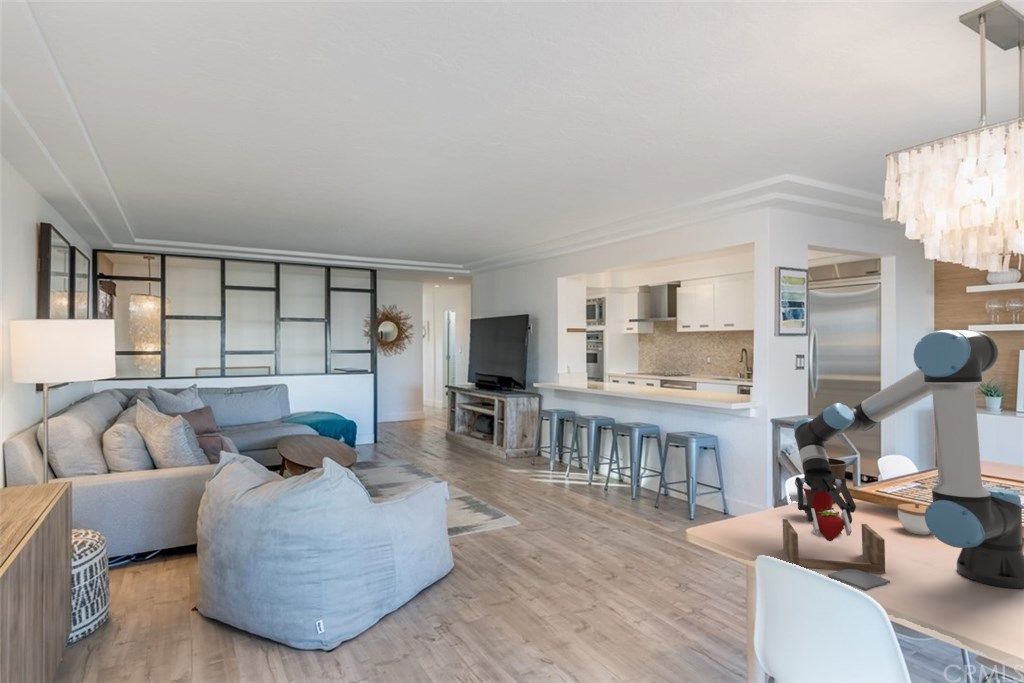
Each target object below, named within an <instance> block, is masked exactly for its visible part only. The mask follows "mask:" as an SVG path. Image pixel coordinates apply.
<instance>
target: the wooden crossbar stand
mask: <svg viewBox="0 0 1024 683" xmlns="http://www.w3.org/2000/svg"><path fill="white" fill-rule="evenodd" d="M798 535H799V534H798V533H797V531H796V530H795V529H794V527H793V526H792V524H791V523H790V521H789V520H788V519H785V518H784V519H782V542H783V544H782V546H783V547H782V549H783V551H784V553H785V554H786V557H787V558H788V559H789V561H790V562H791V564H792V563H794V564H796V565H799V566H802V567H801V568H809V569H821V570H823V569H824V570H834V571H836V570H837V571H841V570H844V569H848V568H850V569H859V570H861V571H864V572H867V573H872V574H873V573H874V574H875V573H876V574H877V573H878V574H886V545H885V538H884V537H882V536H881V535H880V534H879V533H877V532H876V531H875V530H874V529H872V528H871V526H869V525H868V524H866V523H861V547H862V548H861V552H862V553H861V554H862V556H863V557H864V558H865V559H866V560H867V562H860V561H857V562H856V561H843V560H831V559H817V558H816V559H815V558H806V557H799V536H798Z"/></svg>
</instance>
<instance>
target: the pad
mask: <svg viewBox="0 0 1024 683" xmlns="http://www.w3.org/2000/svg"><path fill="white" fill-rule="evenodd" d="M827 577H829V578H831V579H833V580H837V581H840V582H841V583H842V582H843V583H844V584H847V585H850V586H852V587H855V588H858V589H861V590H863V591H869V590H872V589H875V588H878V587H881V586H884V585H888V584H891V580H890V579H887V578H885V577H881V576H878V575H875V574H873V573H871V572H864V571H861V570H859V569H850V568H848V569H844V570H837V571H835V572H831V573H828V574H827Z"/></svg>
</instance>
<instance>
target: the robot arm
mask: <svg viewBox="0 0 1024 683" xmlns="http://www.w3.org/2000/svg"><path fill="white" fill-rule="evenodd" d="M998 357H999V347H998V346H997V343H996V342H995V341H994V339H992V337H990V336H989V335H988V334H986V333H984V332H982V331H978V330H972V329H968V330H964V329H963V330H962V329H961V330H959V329H943V330H936V331H932V332H929V333H928V334H926V335H924V336H923V337H921V339H919V341H918V342H917V343H916V345H915V347H914V350H913V362H914V364H915V366H916V367H917V369H916V370H915V371H912V372H911V373H909V374H907V375H906V376H904V377H902V378H901V379H899V380H897V381H896V382H894V383H892V384H890V385H889V386H887V387H885V388H883V389H882V390H880V391H878V392H875V394H873V395H871V396H870V397H868V398H866V399H864V400H863V401H861V402H859V403H858V404H856V405H854V406H852V407H849V406H847V405H845V404H842V403H841V402H835V403H833V404H832V405H829V406H827V407H826V408H825V409H824V410H823V411H822V412H820V413H819V414H818V415H817V416H815V417H814V418H810V417H808V418H807V417H806V418H802V419H799V420H797V421H796V422H795V423H794V426H793V432H794V435H793V436H794V438H795V442H796V445H797V448H798V454H799V457H800V462H801V467H802V471H803V472H802V473H803V475H804V477H802V478H800V477H799V476H796V477H795V479H794V485H795V487H796V490H797V491H796V492H797V496H796V497H797V509H798V511H804V513H805V514H806V518H807V519H806V520H807V521H808V522H811V524H812V528H813V533H814V534H815V535H818V533H819V527H818V523H817V518H816V514H815V510H814V508H811V505H812V501H813V497H814V494H815V491H816V492H820V491H822V492H827V493H828V494H829V495H830V496H831V497H832V498H833V500H834V501H835V502H836V503H835V504H836V505H837V506H838V508H839V509H840V510H841V514H840V516H841V517H842V519H843V521H844V531H845V534H846V536H847V537H849V536H851V534H852V531H853V530H852V527H851V524H852V523H853V518H852V517H853V516H852V514H851V513H853V514H854V513H855V511H856V509H857V505H856V503H855V501H854V499H853V497H852V494H851V492H850V491H849V488H848V486H847V479H845V477H844V478H843V479H841V480H839V479H835V477H834V476H833V475H832V471H831V468H830V464H829V461H828V458H829V457H828V454H827V451H826V447H825V443H826V442H828V441H830V440H832V439H833V438H834V437H835V436H837V435H839V434H844V433H853V432H854V433H855V432H866V431H869V430H872V429H874V428H876V427H877V426H878V424H879V422H882V421H883V420H886V419H888V418H889V417H891V416H894V415H895V414H897V413H898V412H901V411H902V410H904V409H906V408H908V407H910V406H912V405H914V404H915V403H917V402H919V401H921V400H924V399H925V398H927V397H929V396H931V395H932V403H933V405H932V406H933V418H934V421H933V422H934V433H935V434H934V435H935V447H936V461H937V463H936V464H937V474H938V475H937V476H938V482H937V484H935V485H934V486H933V487H931V493H932V495H931V496H932V502H931V503H930V504H929V505H927V506H928V507H927V508H926V511H925V522H926V525H927V527H928V529H929V530H930V534H932V535H933V536H934V537H935V538H936V539H938V541H940V542H942V543H943V544H945V545H946V546H949V547H952V548H953V547H954V548H958V549H961V550H960V552H959V555H958V557H957V560H956V571H957V573H959V574H960V575H961V576H963V577H965V578H967V579H969V580H972V581H975V582H977V583H981V584H985V585H990V586H995V587H1001V588H1008V589H1024V551H1023V522H1022V521H1023V518H1022V517H1023V516H1022V514H1023V512H1022V510H1023V506H1022V501H1021V497H1020V495H1019V494H1018V493H1016V492H1014V491H1009V490H1005V489H1000V488H995V487H986V486H983V484H982V482H983V481H982V469H981V468H982V467H981V455H980V454H981V453H980V441H979V428H978V416H977V415H978V413H977V401H976V400H977V398H976V389H977V387H979V386H981V384H982V383H983V378H982V377H983V375H982V374H983V373H985V372H987V371H988V370H990V369H991V368H992V367H993V366H994V365H995V364H996V362H997V361H998ZM834 483H835V484H837V486H838V487H839V488H840V493H841V494H838V492H837V491H836V490H835V487H834V486H833V485H834ZM805 484H807V485H808V486H809V487H810V488H811V490H810V494H809V498H808V501H807V500H806V504H805V503H804V489H803V485H805ZM841 495H842V496H841ZM842 497H843V498H842Z"/></svg>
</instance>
